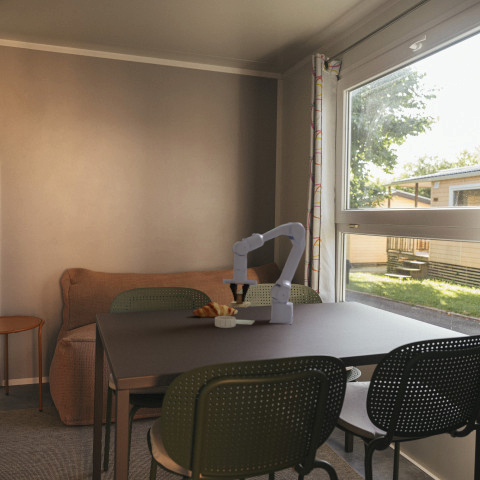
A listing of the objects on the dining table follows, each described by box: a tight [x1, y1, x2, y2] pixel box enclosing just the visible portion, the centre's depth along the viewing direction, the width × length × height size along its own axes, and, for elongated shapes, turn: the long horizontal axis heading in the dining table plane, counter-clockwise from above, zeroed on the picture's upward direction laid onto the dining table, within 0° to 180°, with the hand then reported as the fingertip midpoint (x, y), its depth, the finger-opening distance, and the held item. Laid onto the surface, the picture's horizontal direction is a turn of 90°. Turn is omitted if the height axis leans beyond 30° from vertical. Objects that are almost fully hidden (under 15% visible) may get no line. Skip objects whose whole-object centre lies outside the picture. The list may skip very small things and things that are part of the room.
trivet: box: [235, 319, 255, 325], centre depth 194 cm, size 9×8×1 cm
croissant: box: [192, 301, 238, 318], centre depth 207 cm, size 21×10×8 cm, turn 108°
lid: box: [227, 292, 252, 308], centre depth 192 cm, size 8×8×5 cm
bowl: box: [214, 315, 237, 329], centre depth 187 cm, size 8×8×4 cm
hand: (239, 301), depth 192 cm, fingers closed on lid, 3 cm apart
